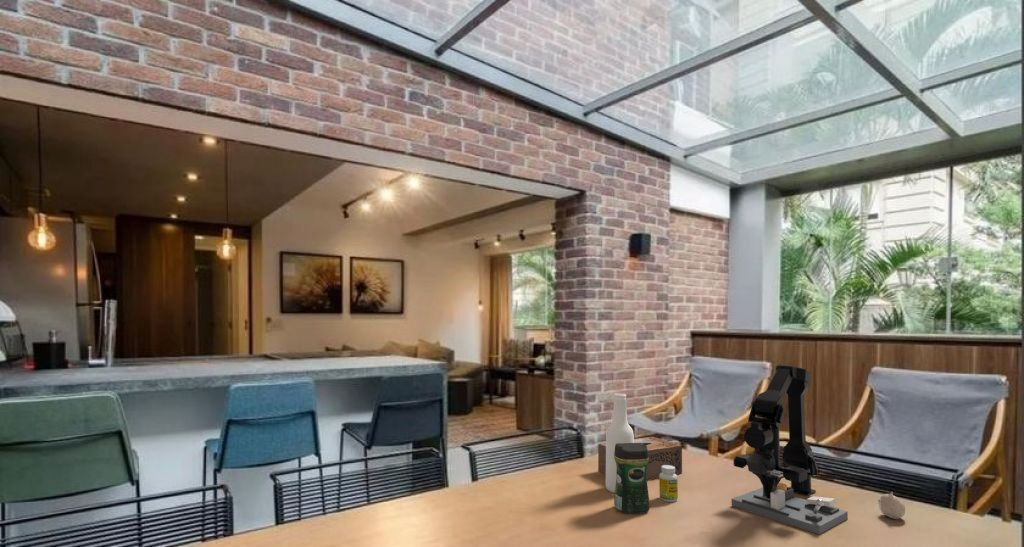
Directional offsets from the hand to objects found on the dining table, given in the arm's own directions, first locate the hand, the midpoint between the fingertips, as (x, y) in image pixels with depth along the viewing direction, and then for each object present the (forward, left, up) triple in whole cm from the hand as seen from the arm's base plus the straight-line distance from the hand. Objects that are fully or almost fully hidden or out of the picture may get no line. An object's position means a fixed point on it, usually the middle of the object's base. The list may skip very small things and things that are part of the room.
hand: (769, 498), depth 147 cm
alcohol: (+21, -37, -4) cm, 43 cm away
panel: (-5, +3, -4) cm, 7 cm away
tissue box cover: (+1, -45, -4) cm, 45 cm away
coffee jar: (+31, -24, -4) cm, 40 cm away
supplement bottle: (+15, -23, -4) cm, 28 cm away
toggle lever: (0, +12, -1) cm, 12 cm away
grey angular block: (0, +2, -2) cm, 3 cm away
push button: (-10, -2, -1) cm, 10 cm away
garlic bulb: (-26, +22, -4) cm, 34 cm away
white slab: (-10, +10, 0) cm, 14 cm away
